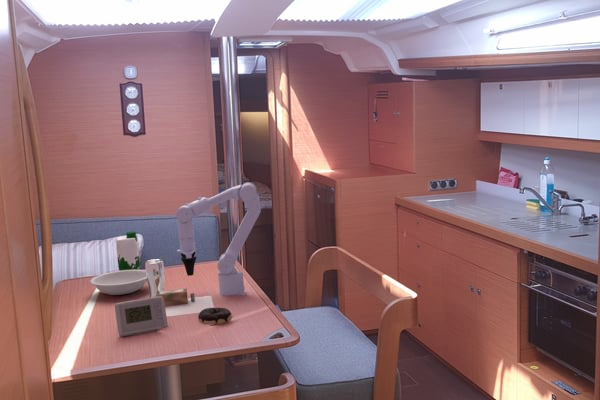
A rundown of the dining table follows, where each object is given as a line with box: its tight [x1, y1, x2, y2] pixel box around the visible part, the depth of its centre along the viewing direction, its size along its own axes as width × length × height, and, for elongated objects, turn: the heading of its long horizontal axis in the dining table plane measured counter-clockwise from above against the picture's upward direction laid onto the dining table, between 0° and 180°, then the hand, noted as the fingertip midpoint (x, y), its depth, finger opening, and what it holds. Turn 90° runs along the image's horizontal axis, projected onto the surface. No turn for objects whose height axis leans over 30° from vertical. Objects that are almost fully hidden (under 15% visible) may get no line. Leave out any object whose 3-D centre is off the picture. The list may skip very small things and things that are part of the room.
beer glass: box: [144, 258, 165, 297], centre depth 262 cm, size 7×7×15 cm
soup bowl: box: [89, 269, 147, 296], centre depth 276 cm, size 24×24×7 cm
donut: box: [197, 307, 233, 327], centre depth 232 cm, size 11×12×4 cm
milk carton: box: [115, 231, 141, 271], centre depth 298 cm, size 9×9×20 cm
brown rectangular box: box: [156, 288, 189, 307], centre depth 252 cm, size 11×5×5 cm, turn 101°
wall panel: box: [165, 292, 215, 318], centre depth 248 cm, size 22×20×4 cm
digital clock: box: [114, 296, 169, 337], centre depth 226 cm, size 16×9×11 cm, turn 100°
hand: (189, 272), depth 260 cm, fingers open, 7 cm apart
